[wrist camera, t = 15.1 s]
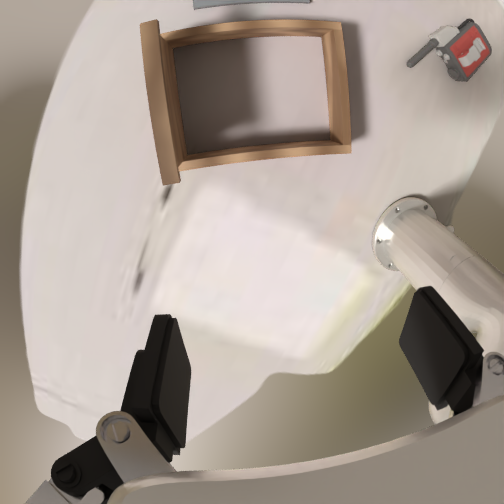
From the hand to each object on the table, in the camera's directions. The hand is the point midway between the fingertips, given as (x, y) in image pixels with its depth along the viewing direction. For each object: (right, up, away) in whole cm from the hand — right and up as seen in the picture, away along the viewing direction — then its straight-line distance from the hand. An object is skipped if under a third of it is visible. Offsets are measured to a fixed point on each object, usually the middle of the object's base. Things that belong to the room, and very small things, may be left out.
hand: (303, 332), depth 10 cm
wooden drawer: (-2, +22, +20) cm, 30 cm away
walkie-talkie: (+28, +34, +18) cm, 47 cm away
